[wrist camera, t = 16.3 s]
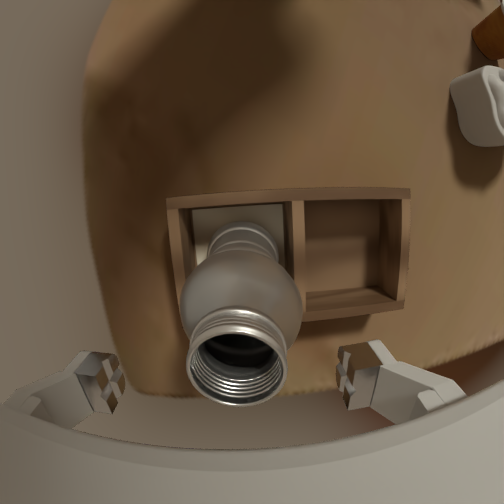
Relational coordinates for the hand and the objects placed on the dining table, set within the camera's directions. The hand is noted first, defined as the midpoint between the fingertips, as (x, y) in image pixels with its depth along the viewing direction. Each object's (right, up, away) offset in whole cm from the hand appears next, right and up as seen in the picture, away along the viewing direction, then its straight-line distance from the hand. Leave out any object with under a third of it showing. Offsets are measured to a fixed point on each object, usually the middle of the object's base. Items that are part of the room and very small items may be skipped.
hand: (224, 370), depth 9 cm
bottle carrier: (+5, +5, +20) cm, 22 cm away
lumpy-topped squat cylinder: (+34, +24, +17) cm, 45 cm away
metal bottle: (0, +4, +20) cm, 20 cm away
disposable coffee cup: (+39, +38, +14) cm, 56 cm away
